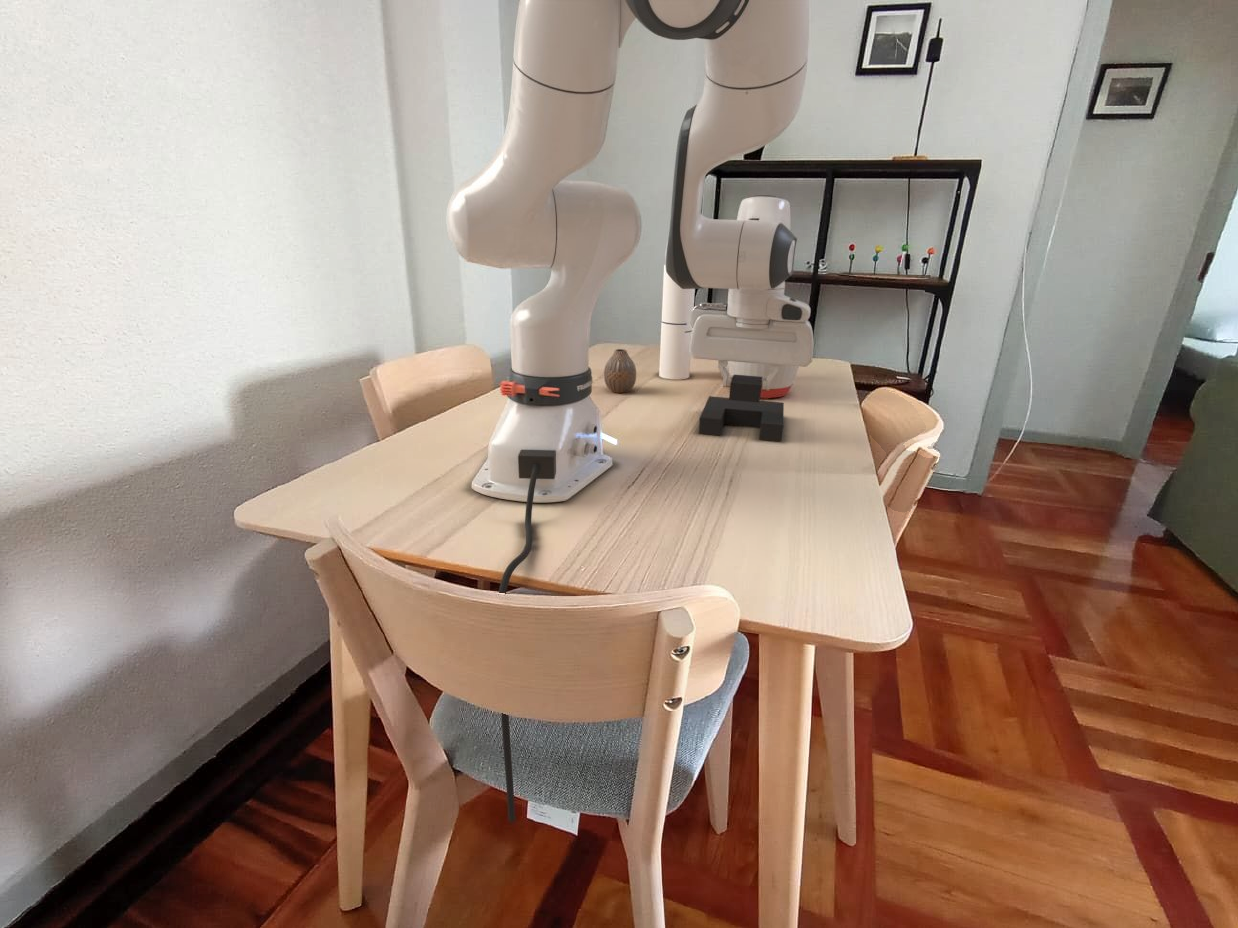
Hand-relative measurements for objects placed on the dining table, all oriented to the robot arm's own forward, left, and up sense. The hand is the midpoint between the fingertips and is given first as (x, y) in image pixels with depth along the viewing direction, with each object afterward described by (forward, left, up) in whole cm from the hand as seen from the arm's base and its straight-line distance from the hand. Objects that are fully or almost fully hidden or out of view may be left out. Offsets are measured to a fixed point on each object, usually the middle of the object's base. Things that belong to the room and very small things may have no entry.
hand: (746, 387), depth 104 cm
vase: (+20, +27, -8) cm, 35 cm away
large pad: (+4, 0, -8) cm, 9 cm away
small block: (0, 0, -2) cm, 2 cm away
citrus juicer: (+28, -3, -8) cm, 29 cm away
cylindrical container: (+37, +18, -8) cm, 42 cm away
